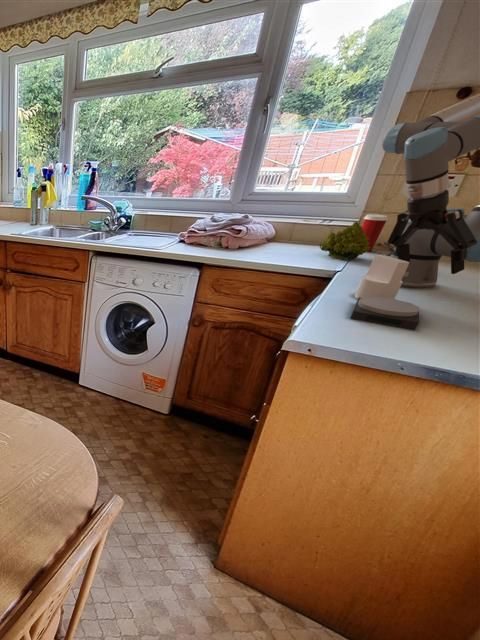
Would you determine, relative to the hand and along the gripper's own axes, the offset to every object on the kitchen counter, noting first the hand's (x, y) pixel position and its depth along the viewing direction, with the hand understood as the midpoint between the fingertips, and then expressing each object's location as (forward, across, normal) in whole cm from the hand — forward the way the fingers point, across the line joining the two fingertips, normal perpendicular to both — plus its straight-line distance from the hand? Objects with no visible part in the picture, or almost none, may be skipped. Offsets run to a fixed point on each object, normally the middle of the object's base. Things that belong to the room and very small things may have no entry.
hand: (429, 268), depth 121 cm
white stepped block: (+6, -7, -10) cm, 14 cm away
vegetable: (+13, -54, +24) cm, 61 cm away
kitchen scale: (+4, +6, -20) cm, 22 cm away
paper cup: (+19, -64, +41) cm, 78 cm away
